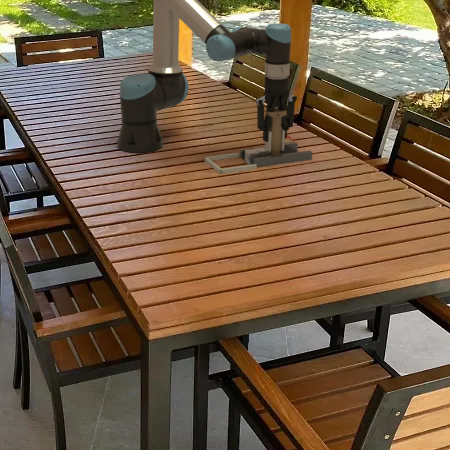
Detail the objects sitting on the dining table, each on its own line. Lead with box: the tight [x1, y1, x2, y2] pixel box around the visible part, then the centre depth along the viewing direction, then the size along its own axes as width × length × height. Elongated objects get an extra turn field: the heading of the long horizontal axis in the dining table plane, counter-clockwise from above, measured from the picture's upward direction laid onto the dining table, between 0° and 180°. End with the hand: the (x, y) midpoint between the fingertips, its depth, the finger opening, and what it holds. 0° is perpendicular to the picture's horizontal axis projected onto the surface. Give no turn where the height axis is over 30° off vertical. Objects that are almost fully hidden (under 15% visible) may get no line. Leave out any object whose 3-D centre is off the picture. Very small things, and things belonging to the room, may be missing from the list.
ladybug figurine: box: [284, 134, 294, 144], centre depth 244 cm, size 7×10×4 cm
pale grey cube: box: [244, 149, 259, 165], centre depth 224 cm, size 4×4×4 cm
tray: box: [203, 152, 258, 175], centre depth 223 cm, size 12×13×2 cm
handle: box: [265, 108, 287, 156], centre depth 225 cm, size 5×6×15 cm
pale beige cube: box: [254, 146, 270, 157], centre depth 226 cm, size 4×4×4 cm
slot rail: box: [239, 141, 313, 168], centre depth 228 cm, size 20×11×4 cm, turn 113°
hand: (274, 149), depth 228 cm, fingers closed on handle, 4 cm apart
